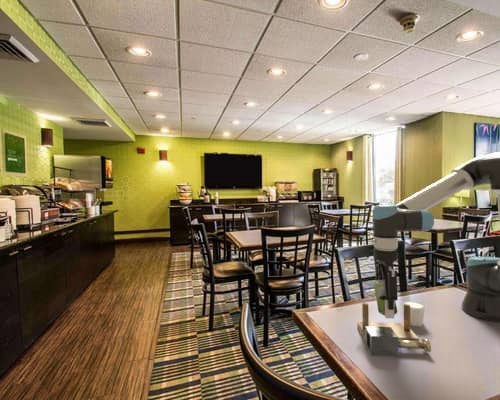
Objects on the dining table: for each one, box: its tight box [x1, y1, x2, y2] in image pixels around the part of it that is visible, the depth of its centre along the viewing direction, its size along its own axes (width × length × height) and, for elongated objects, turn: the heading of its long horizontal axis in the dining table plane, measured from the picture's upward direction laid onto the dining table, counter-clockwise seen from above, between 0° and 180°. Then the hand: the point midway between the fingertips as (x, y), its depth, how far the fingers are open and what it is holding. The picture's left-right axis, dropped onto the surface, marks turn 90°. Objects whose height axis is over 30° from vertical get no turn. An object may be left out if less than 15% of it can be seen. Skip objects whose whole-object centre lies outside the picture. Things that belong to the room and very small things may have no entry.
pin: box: [398, 338, 432, 353], centre depth 84 cm, size 10×4×4 cm, turn 83°
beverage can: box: [373, 279, 398, 317], centre depth 93 cm, size 6×7×12 cm
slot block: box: [365, 326, 400, 358], centre depth 85 cm, size 8×6×6 cm
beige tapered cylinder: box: [403, 300, 425, 327], centre depth 102 cm, size 7×7×7 cm
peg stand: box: [356, 302, 420, 342], centre depth 93 cm, size 17×10×11 cm, turn 83°
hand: (385, 312), depth 93 cm, fingers closed on beverage can, 6 cm apart
